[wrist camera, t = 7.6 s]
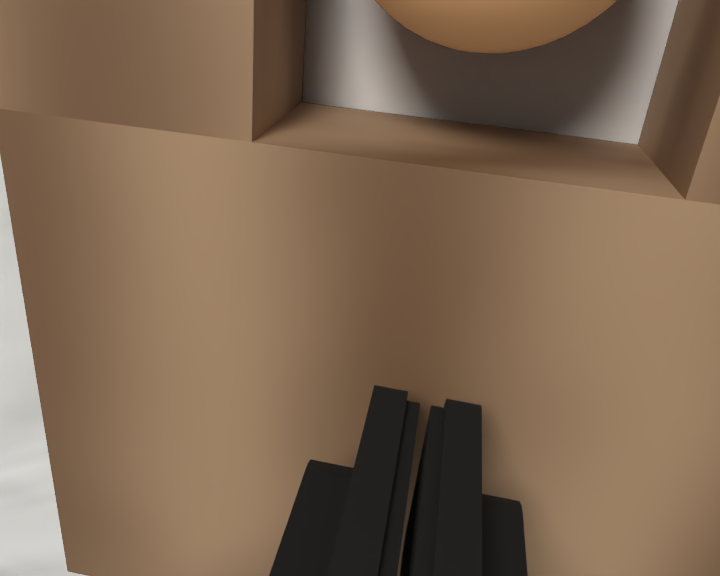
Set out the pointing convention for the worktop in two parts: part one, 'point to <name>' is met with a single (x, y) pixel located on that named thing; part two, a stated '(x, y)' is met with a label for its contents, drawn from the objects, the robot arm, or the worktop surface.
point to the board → (352, 291)
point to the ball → (494, 21)
